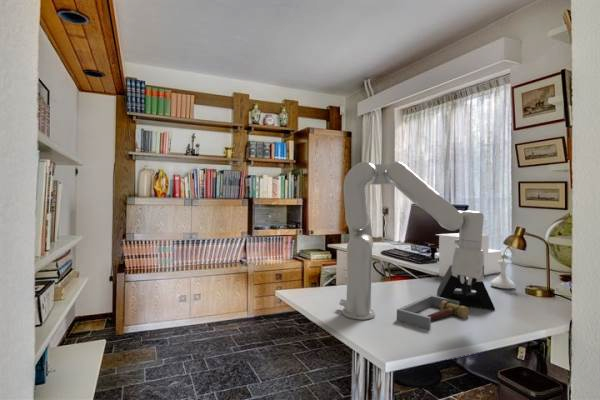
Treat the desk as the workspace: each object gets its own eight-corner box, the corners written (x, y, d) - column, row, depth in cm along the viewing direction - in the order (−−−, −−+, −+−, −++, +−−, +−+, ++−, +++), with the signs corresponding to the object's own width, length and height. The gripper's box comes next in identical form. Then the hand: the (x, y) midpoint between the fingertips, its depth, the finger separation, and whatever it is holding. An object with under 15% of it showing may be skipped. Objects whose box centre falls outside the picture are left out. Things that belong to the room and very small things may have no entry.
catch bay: (396, 320, 131) (396, 309, 130) (429, 303, 151) (429, 294, 151) (428, 329, 122) (429, 318, 122) (459, 310, 143) (459, 301, 142)
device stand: (437, 303, 153) (437, 270, 153) (437, 291, 174) (438, 261, 174) (494, 310, 144) (495, 275, 144) (488, 296, 165) (488, 265, 165)
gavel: (435, 318, 125) (412, 310, 133) (435, 331, 125) (413, 322, 133) (469, 305, 136) (446, 299, 144) (469, 317, 136) (446, 310, 144)
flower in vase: (510, 291, 174) (511, 242, 173) (486, 286, 183) (487, 239, 182) (520, 287, 182) (521, 240, 182) (496, 283, 191) (498, 238, 190)
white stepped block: (474, 267, 235) (475, 231, 235) (502, 272, 220) (503, 233, 219) (431, 274, 212) (431, 233, 212) (458, 280, 196) (459, 237, 196)
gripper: (445, 242, 128) (441, 291, 129) (489, 248, 118) (485, 302, 118) (452, 241, 134) (449, 288, 134) (495, 247, 123) (491, 298, 124)
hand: (466, 294), depth 126 cm, fingers closed
